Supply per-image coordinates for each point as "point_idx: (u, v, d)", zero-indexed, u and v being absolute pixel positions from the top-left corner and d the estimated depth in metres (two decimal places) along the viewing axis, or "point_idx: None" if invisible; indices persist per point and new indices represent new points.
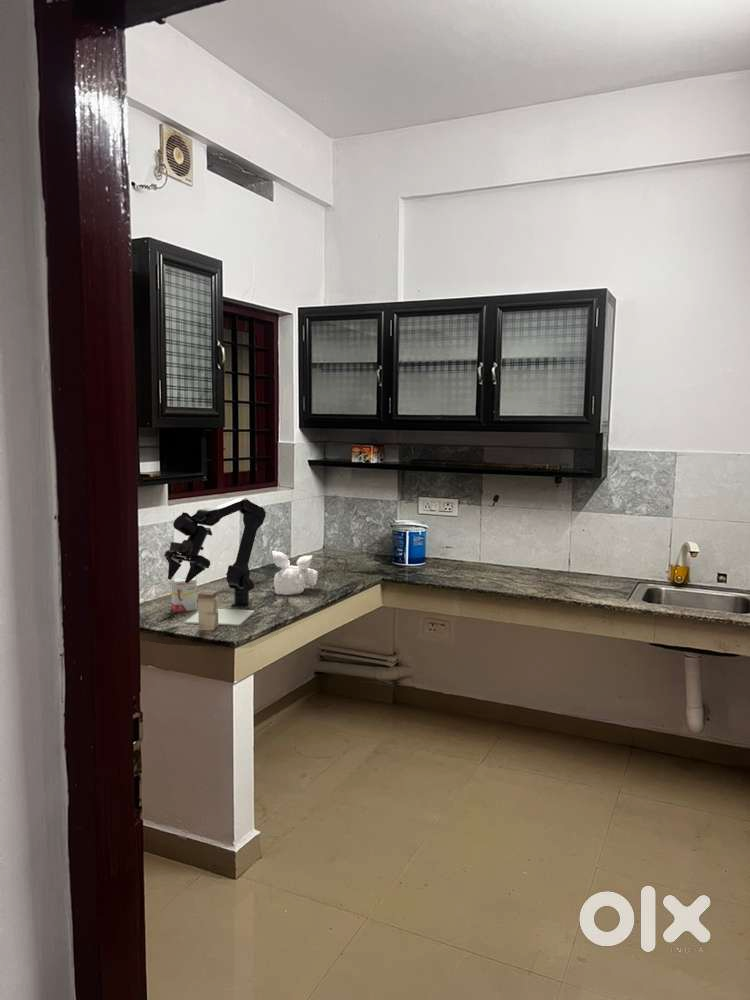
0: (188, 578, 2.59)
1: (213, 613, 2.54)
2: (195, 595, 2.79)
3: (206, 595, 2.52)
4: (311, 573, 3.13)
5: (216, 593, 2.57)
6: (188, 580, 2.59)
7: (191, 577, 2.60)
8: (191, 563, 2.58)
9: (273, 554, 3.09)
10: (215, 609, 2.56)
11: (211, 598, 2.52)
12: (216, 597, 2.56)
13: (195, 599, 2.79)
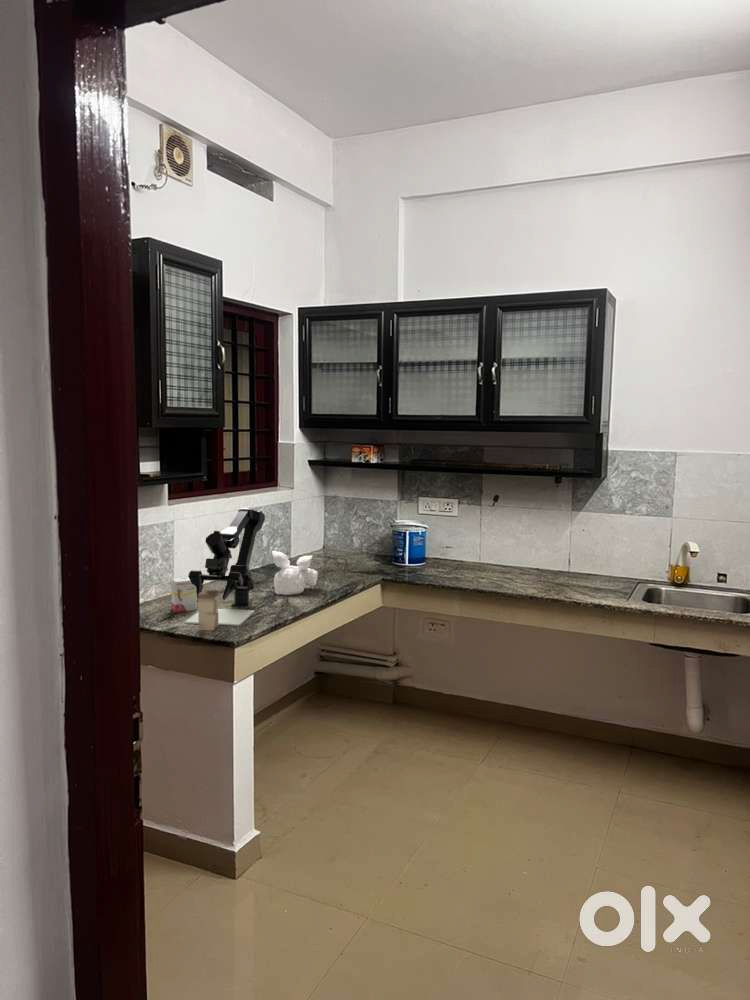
0: (225, 595, 2.58)
1: (213, 613, 2.54)
2: (195, 595, 2.79)
3: (206, 595, 2.52)
4: (311, 573, 3.13)
5: (216, 593, 2.57)
6: (225, 597, 2.58)
7: (227, 594, 2.59)
8: (229, 579, 2.59)
9: (273, 554, 3.09)
10: (215, 609, 2.56)
11: (211, 598, 2.52)
12: (216, 597, 2.56)
13: (195, 599, 2.79)
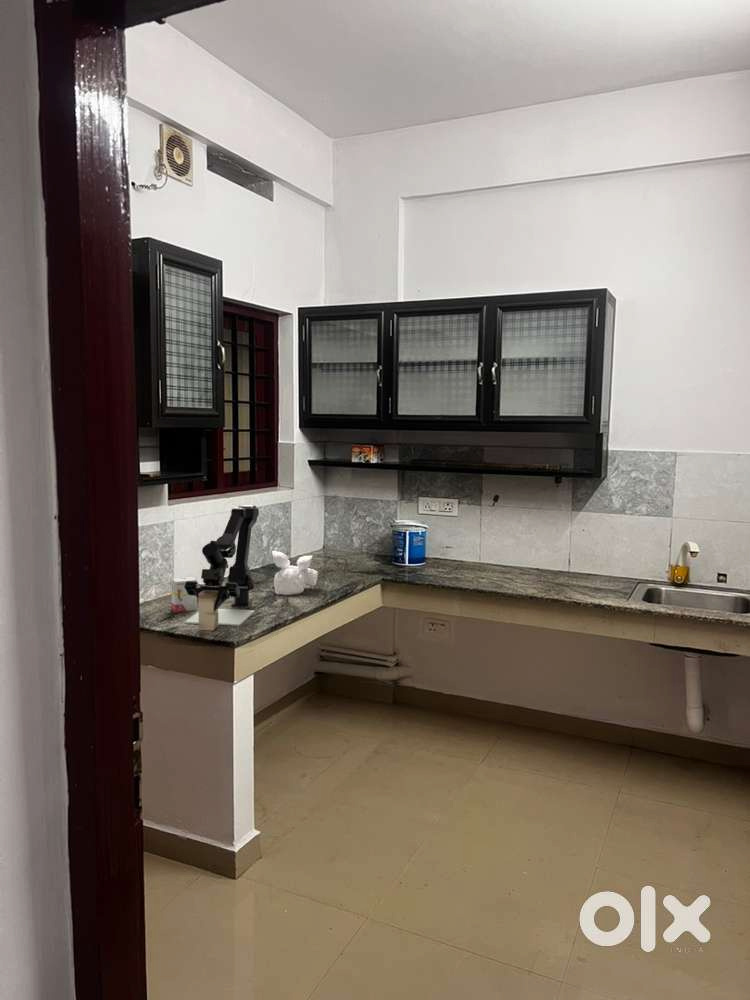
0: (217, 606, 2.55)
1: (213, 613, 2.54)
2: None
3: (206, 595, 2.52)
4: (311, 573, 3.13)
5: (216, 593, 2.57)
6: (216, 608, 2.55)
7: (218, 605, 2.56)
8: (221, 590, 2.56)
9: (273, 554, 3.09)
10: None
11: (211, 598, 2.52)
12: (216, 597, 2.56)
13: (195, 599, 2.79)
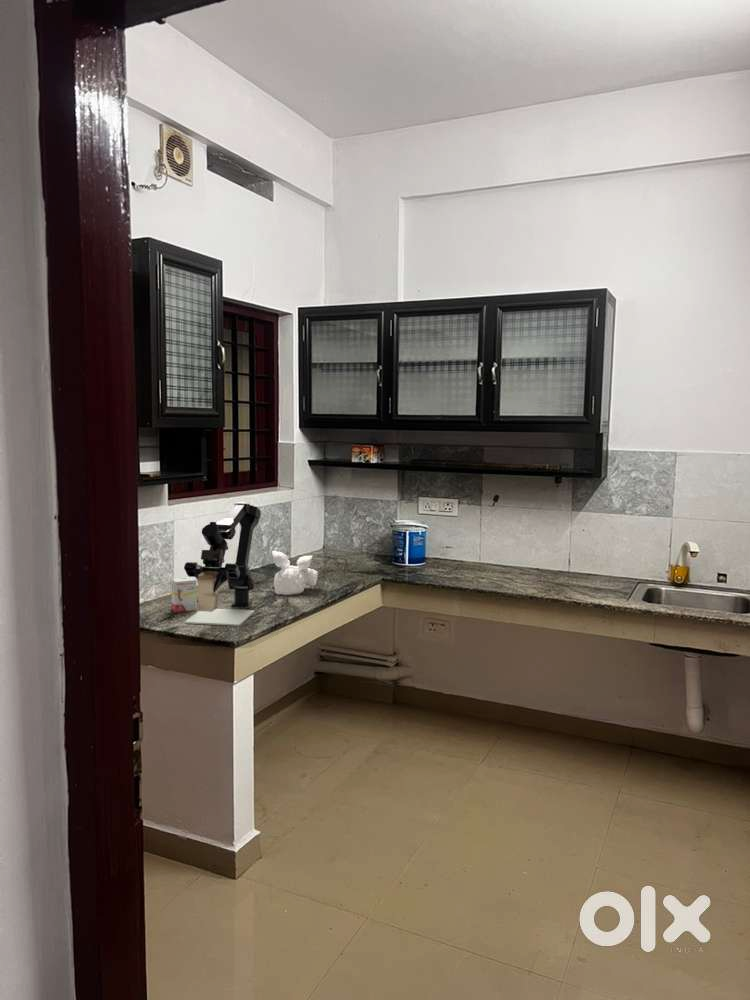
0: (216, 587, 2.54)
1: (213, 595, 2.53)
2: (195, 595, 2.79)
3: (206, 576, 2.52)
4: (311, 573, 3.13)
5: (216, 574, 2.56)
6: (216, 588, 2.54)
7: (218, 586, 2.55)
8: (220, 571, 2.55)
9: (273, 554, 3.09)
10: None
11: (211, 579, 2.52)
12: (215, 579, 2.55)
13: (195, 599, 2.79)
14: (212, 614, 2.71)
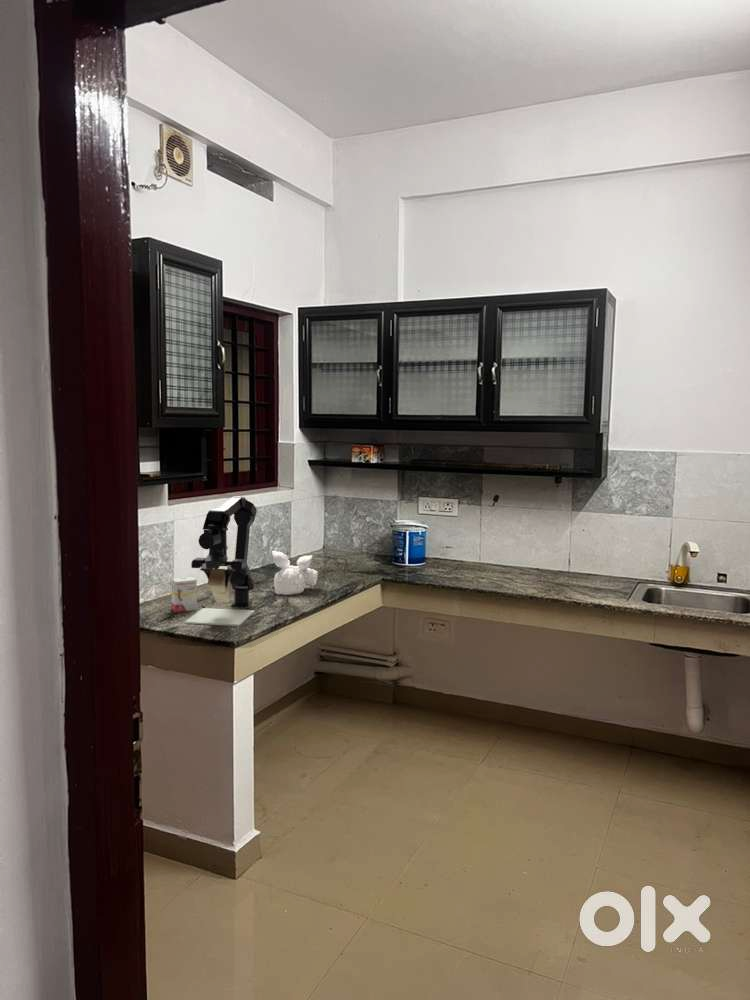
0: (227, 583, 2.66)
1: (226, 591, 2.67)
2: (195, 595, 2.79)
3: (216, 582, 2.62)
4: (311, 573, 3.13)
5: (224, 573, 2.65)
6: (227, 584, 2.67)
7: (229, 580, 2.67)
8: (227, 571, 2.63)
9: (273, 554, 3.09)
10: None
11: (221, 584, 2.63)
12: (225, 576, 2.66)
13: (195, 599, 2.79)
14: (212, 614, 2.71)
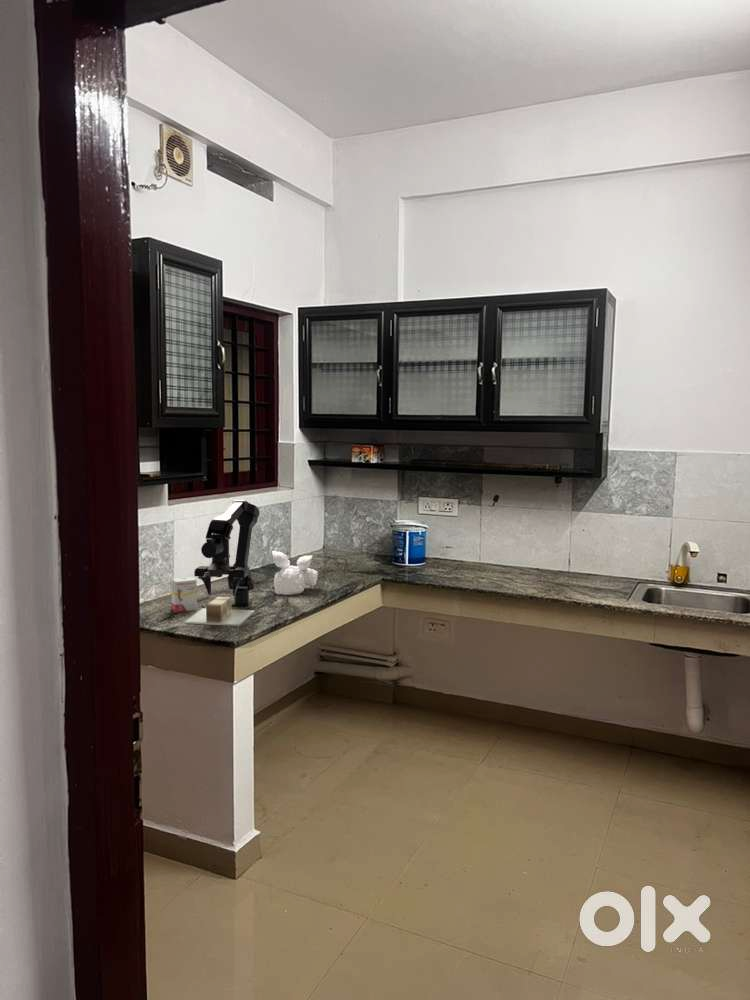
0: (235, 591, 2.69)
1: (226, 614, 2.68)
2: (195, 595, 2.79)
3: (214, 621, 2.62)
4: (311, 573, 3.13)
5: (220, 609, 2.61)
6: (235, 592, 2.70)
7: (236, 589, 2.70)
8: (235, 579, 2.66)
9: (273, 554, 3.09)
10: (225, 609, 2.67)
11: (220, 621, 2.63)
12: (221, 610, 2.63)
13: (195, 599, 2.79)
14: None
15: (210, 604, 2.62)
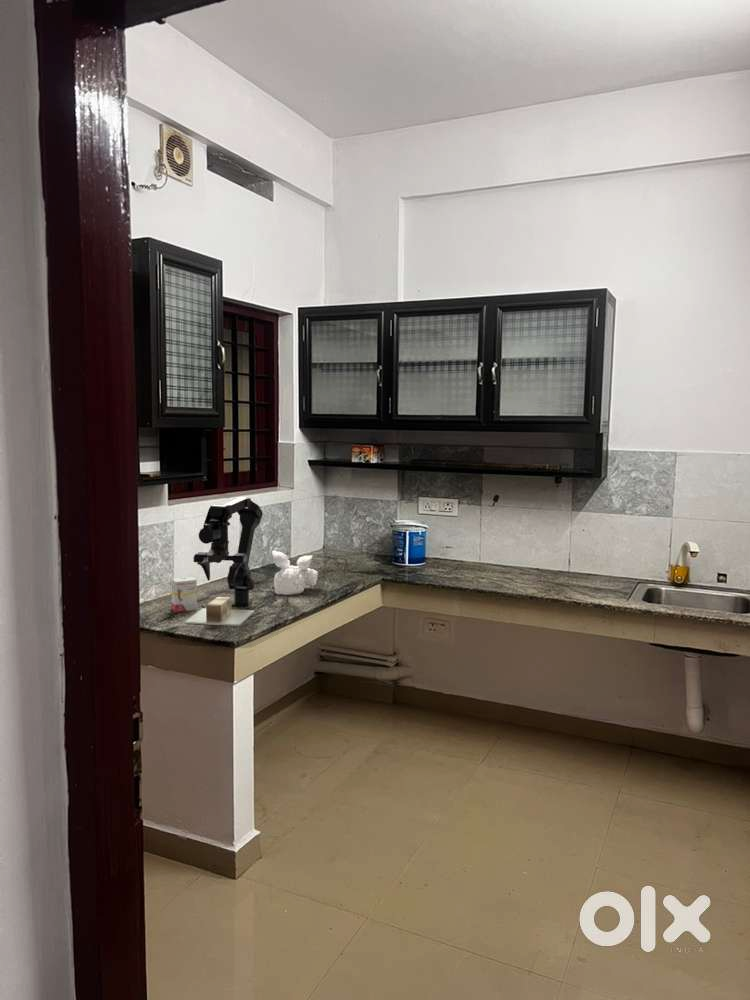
0: (234, 577, 2.71)
1: (226, 614, 2.68)
2: (195, 595, 2.79)
3: (214, 621, 2.62)
4: (311, 573, 3.13)
5: (220, 609, 2.61)
6: (234, 578, 2.71)
7: (235, 574, 2.72)
8: (234, 565, 2.68)
9: (273, 554, 3.09)
10: (225, 609, 2.67)
11: (220, 621, 2.63)
12: (221, 610, 2.63)
13: (195, 599, 2.79)
14: None
15: (210, 604, 2.62)
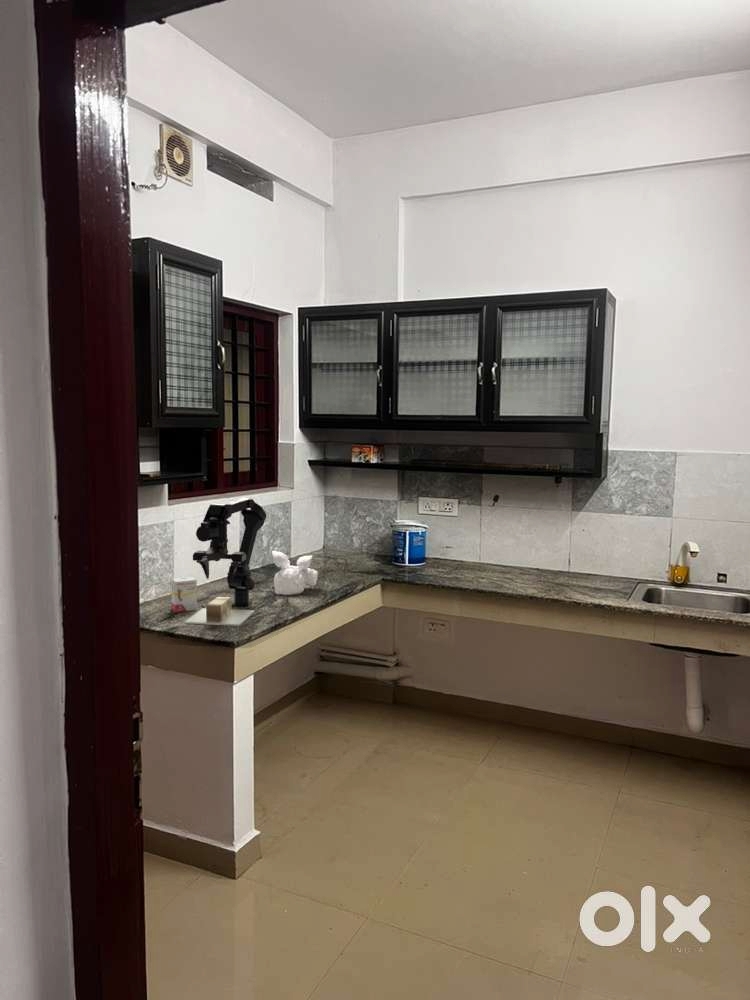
0: (233, 575, 2.73)
1: (226, 614, 2.68)
2: (195, 595, 2.79)
3: (214, 621, 2.62)
4: (311, 573, 3.13)
5: (220, 609, 2.61)
6: (233, 576, 2.73)
7: (234, 573, 2.73)
8: (233, 563, 2.70)
9: (273, 554, 3.09)
10: (225, 609, 2.67)
11: (220, 621, 2.63)
12: (221, 610, 2.63)
13: (195, 599, 2.79)
14: None
15: (210, 604, 2.62)
